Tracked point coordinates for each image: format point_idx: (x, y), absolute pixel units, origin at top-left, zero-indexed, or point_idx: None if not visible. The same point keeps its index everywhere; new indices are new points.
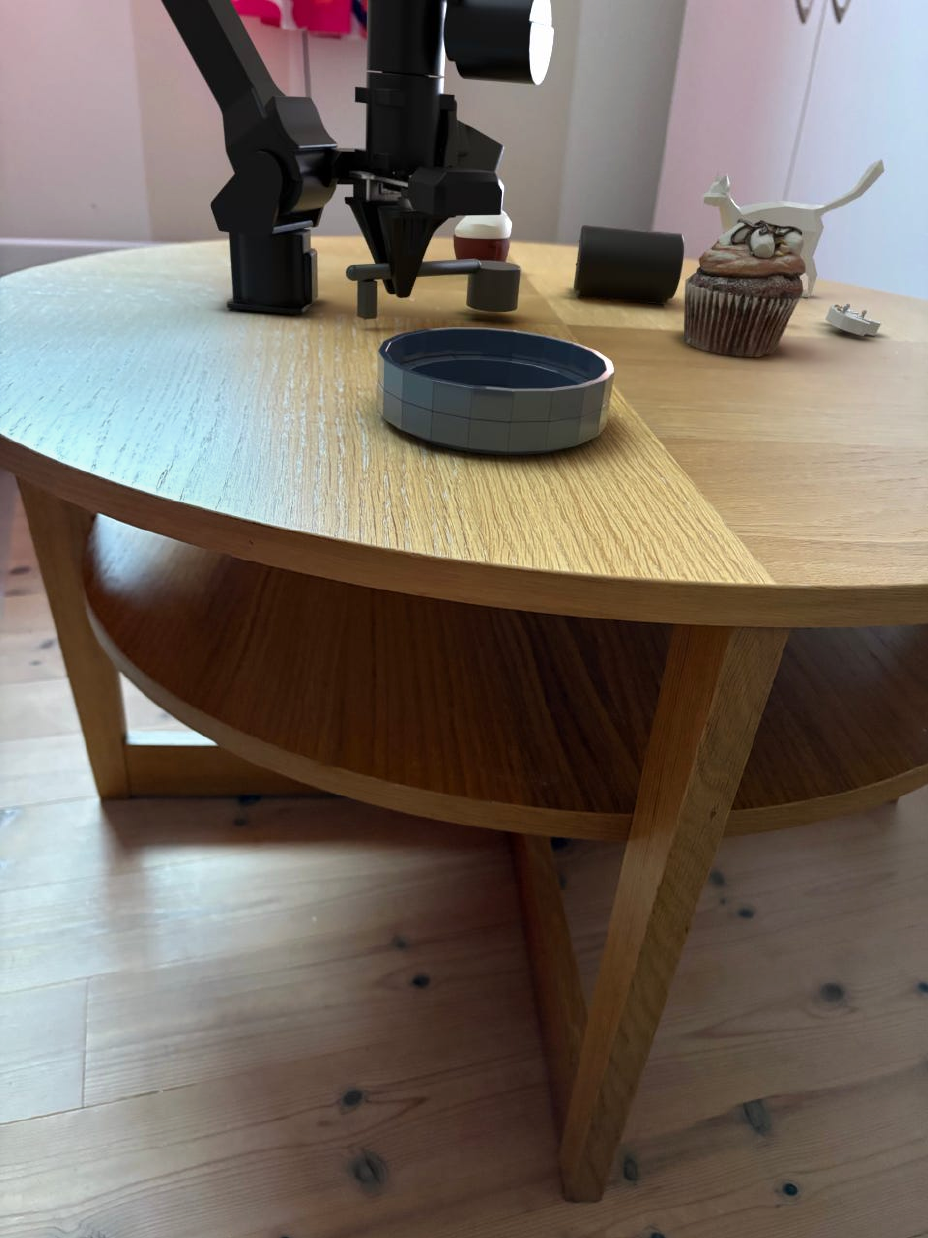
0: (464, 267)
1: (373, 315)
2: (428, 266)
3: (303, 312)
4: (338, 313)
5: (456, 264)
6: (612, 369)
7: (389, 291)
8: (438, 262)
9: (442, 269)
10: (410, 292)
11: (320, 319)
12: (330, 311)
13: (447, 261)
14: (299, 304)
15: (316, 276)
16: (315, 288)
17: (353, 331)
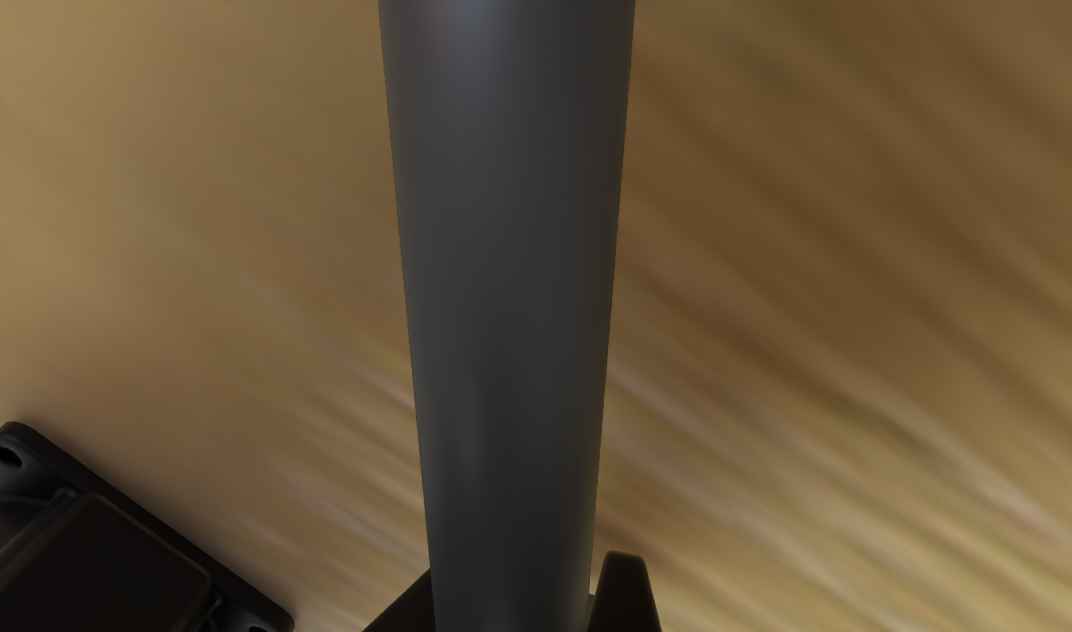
0: (630, 44)
1: None
2: (578, 598)
3: (278, 607)
4: (259, 470)
5: (590, 222)
6: None
7: None
8: (536, 492)
9: (601, 416)
10: (648, 581)
11: (355, 586)
12: (216, 473)
13: (518, 357)
14: (213, 607)
15: (40, 602)
16: (105, 571)
17: None
